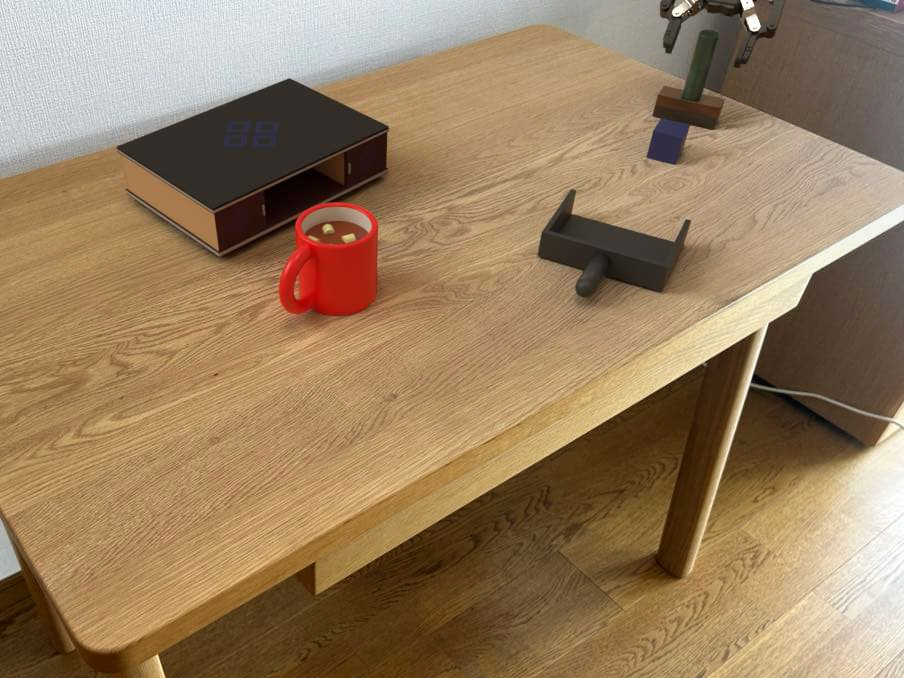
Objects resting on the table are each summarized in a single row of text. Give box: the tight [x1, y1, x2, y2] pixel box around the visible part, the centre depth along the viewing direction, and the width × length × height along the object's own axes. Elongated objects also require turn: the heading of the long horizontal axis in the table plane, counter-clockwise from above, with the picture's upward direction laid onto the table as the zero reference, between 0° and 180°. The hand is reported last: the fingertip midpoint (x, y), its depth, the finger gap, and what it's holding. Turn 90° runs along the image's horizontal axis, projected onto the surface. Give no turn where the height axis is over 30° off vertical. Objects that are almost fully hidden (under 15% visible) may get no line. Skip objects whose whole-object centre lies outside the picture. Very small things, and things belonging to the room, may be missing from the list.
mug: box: [278, 201, 379, 316], centre depth 84 cm, size 8×12×8 cm, turn 144°
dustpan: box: [537, 188, 692, 299], centre depth 90 cm, size 16×13×3 cm
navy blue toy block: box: [646, 118, 691, 165], centre depth 106 cm, size 4×4×4 cm
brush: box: [651, 29, 726, 131], centre depth 111 cm, size 8×3×11 cm, turn 62°
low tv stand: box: [116, 77, 390, 258], centre depth 99 cm, size 17×25×7 cm
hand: (702, 58), depth 108 cm, fingers open, 8 cm apart
